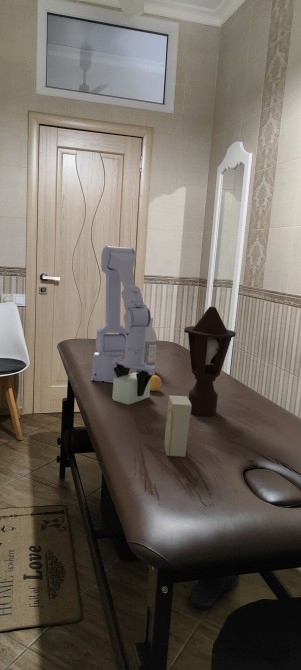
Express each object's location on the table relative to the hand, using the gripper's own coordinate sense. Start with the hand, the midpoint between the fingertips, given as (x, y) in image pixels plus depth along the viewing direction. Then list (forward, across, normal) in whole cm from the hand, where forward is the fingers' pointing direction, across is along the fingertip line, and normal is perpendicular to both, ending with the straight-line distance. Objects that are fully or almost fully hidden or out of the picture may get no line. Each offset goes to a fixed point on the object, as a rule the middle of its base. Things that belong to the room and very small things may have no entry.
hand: (131, 392), depth 141 cm
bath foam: (+2, +17, -30) cm, 34 cm away
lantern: (+2, -20, -6) cm, 22 cm away
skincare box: (+2, -30, +22) cm, 37 cm away
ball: (-1, 0, -12) cm, 12 cm away
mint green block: (+2, 0, 0) cm, 2 cm away
